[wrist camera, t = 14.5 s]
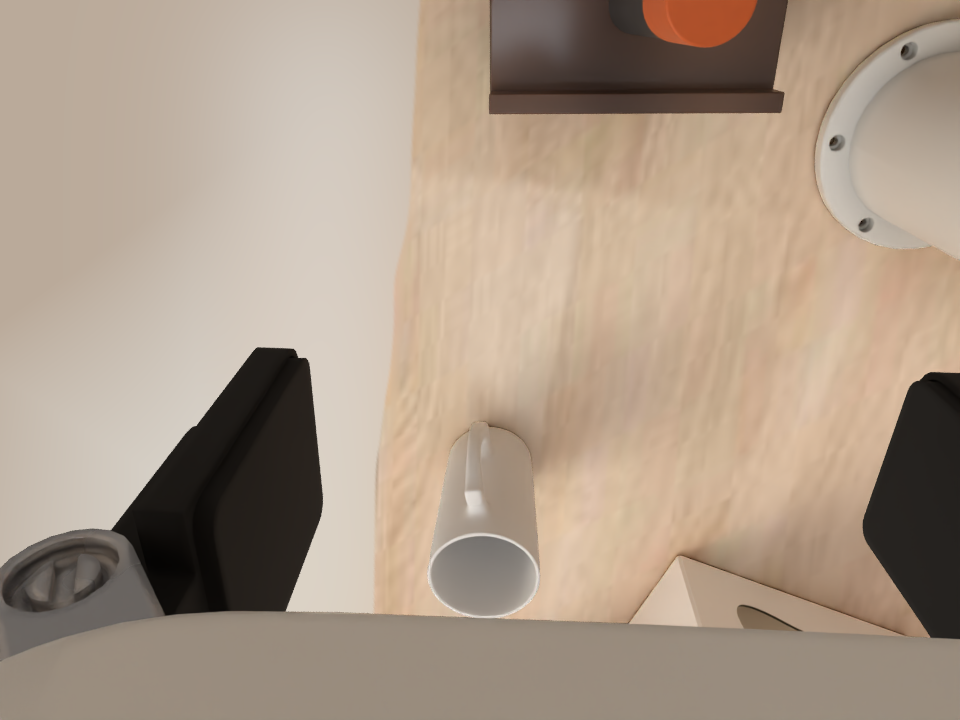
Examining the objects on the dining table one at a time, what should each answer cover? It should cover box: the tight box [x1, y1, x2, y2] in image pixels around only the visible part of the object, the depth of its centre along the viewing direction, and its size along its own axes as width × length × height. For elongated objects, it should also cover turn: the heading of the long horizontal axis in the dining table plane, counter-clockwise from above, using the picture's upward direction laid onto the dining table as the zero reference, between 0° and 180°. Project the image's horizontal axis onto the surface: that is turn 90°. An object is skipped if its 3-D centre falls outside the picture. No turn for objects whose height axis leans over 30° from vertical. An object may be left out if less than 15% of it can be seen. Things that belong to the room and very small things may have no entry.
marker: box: [609, 0, 757, 48], centre depth 22 cm, size 2×2×12 cm
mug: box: [427, 422, 540, 618], centre depth 45 cm, size 10×7×12 cm, turn 7°
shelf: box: [489, 0, 788, 114], centre depth 32 cm, size 12×8×12 cm, turn 91°
